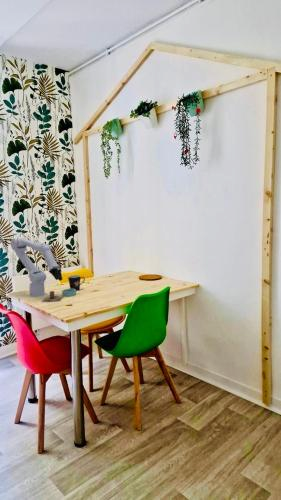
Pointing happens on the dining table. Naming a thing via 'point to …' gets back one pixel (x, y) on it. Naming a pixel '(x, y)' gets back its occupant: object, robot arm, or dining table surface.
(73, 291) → the bowl
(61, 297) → the mat
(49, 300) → the lid
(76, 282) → the coffee mug
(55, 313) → the dining table surface
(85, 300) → the dining table surface
